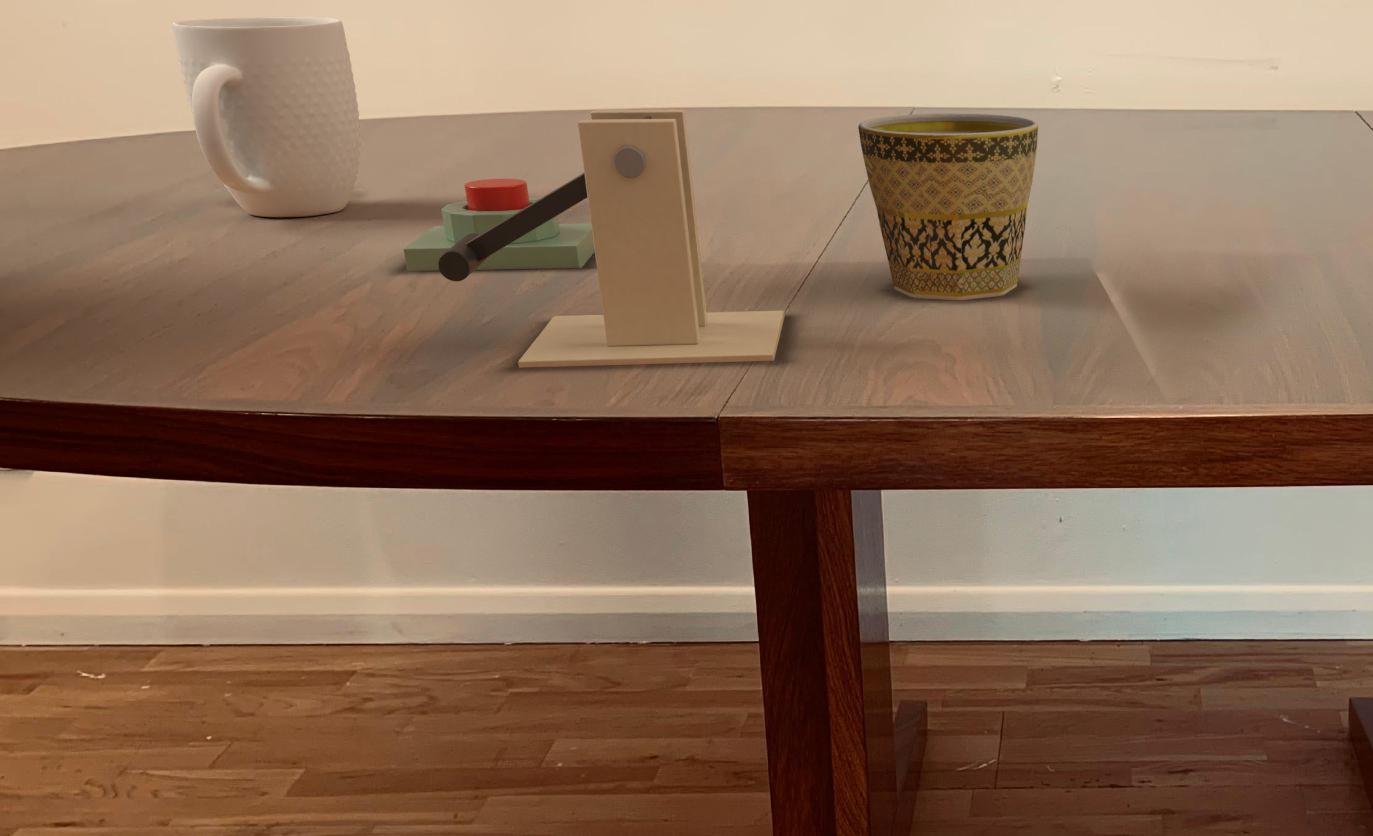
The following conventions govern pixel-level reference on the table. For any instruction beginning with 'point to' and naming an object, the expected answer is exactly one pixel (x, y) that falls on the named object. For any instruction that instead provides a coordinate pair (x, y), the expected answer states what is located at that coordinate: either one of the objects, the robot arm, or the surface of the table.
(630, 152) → the bracket
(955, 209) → the ceramic cup
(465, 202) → the button box
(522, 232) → the lever
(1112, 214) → the table surface
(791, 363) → the table surface
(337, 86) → the mug
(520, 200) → the button
